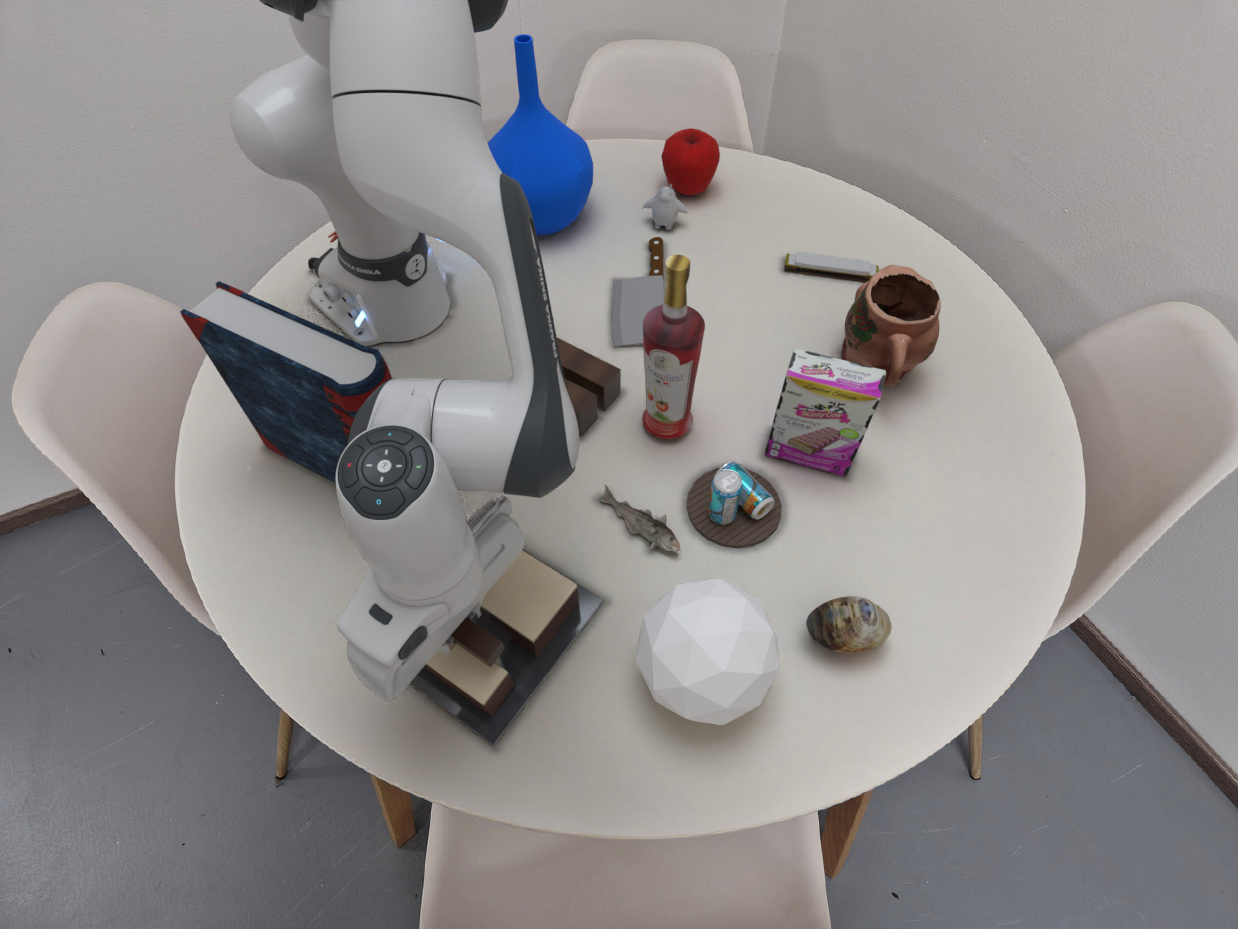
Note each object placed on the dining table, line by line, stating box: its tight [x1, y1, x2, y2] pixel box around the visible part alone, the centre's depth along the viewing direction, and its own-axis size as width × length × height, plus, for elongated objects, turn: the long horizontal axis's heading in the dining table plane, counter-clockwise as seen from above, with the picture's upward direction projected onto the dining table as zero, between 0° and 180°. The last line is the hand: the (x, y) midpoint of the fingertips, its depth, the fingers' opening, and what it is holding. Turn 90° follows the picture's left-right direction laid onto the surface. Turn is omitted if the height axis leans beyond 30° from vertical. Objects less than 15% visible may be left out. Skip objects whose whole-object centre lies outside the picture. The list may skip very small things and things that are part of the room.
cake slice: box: [424, 644, 515, 716], centre depth 82 cm, size 12×4×5 cm, turn 56°
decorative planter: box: [841, 264, 942, 388], centre depth 105 cm, size 20×12×14 cm, turn 176°
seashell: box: [805, 595, 893, 654], centre depth 84 cm, size 10×6×8 cm, turn 91°
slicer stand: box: [557, 337, 622, 438], centre depth 106 cm, size 11×10×5 cm
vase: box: [487, 33, 594, 237], centre depth 119 cm, size 18×18×30 cm
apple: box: [661, 127, 721, 196], centre depth 131 cm, size 10×10×11 cm
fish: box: [598, 484, 682, 553], centre depth 95 cm, size 13×4×5 cm
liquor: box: [641, 254, 706, 440], centre depth 94 cm, size 7×7×28 cm
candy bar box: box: [764, 347, 886, 478], centre depth 95 cm, size 11×5×16 cm, turn 71°
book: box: [179, 280, 393, 484], centre depth 91 cm, size 25×7×25 cm, turn 61°
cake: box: [409, 548, 604, 747], centre depth 85 cm, size 16×20×6 cm
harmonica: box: [783, 251, 880, 282], centre depth 122 cm, size 15×3×2 cm, turn 78°
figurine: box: [641, 182, 689, 232], centre depth 127 cm, size 8×6×8 cm
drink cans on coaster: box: [686, 459, 782, 549], centre depth 94 cm, size 12×12×8 cm
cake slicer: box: [451, 618, 510, 676], centre depth 81 cm, size 10×2×9 cm, turn 56°
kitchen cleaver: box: [611, 236, 665, 348], centre depth 120 cm, size 24×1×10 cm
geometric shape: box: [635, 578, 781, 726], centre depth 79 cm, size 14×15×15 cm
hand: (458, 631), depth 79 cm, fingers closed on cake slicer, 2 cm apart
